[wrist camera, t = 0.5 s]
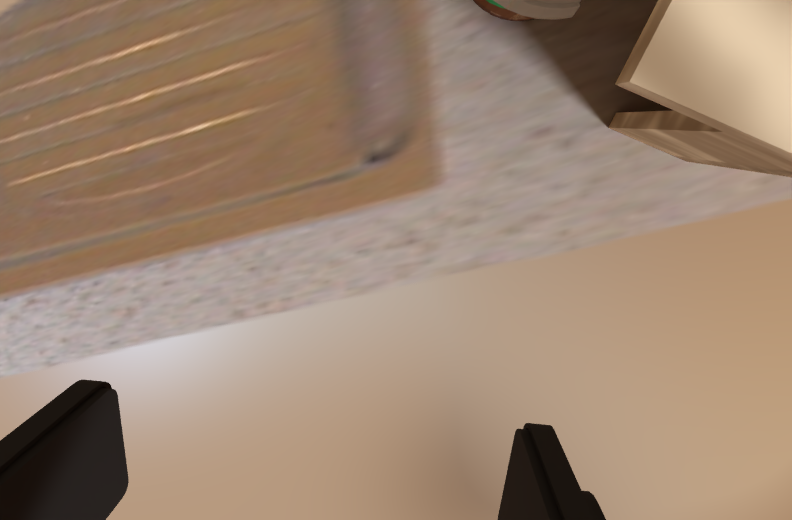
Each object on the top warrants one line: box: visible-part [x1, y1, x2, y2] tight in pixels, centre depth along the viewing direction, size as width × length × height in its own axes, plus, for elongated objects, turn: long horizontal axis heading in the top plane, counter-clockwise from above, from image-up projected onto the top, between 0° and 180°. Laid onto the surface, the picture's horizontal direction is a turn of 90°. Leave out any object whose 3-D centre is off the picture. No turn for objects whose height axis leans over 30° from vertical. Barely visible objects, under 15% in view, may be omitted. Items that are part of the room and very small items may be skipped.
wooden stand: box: [608, 0, 792, 177], centre depth 25 cm, size 14×13×15 cm
